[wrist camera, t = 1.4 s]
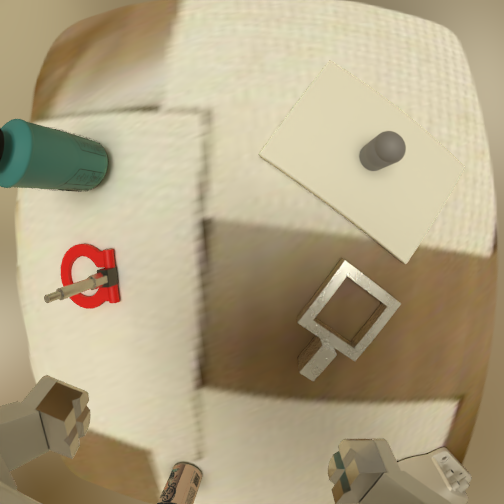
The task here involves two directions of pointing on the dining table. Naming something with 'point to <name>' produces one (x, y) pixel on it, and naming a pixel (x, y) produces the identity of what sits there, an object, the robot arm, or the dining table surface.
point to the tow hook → (101, 280)
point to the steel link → (328, 339)
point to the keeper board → (339, 169)
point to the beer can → (181, 485)
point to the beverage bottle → (48, 158)
